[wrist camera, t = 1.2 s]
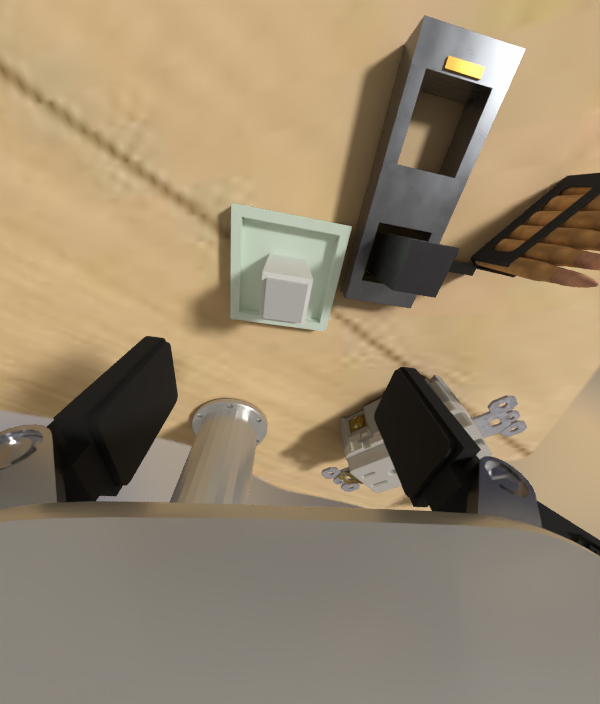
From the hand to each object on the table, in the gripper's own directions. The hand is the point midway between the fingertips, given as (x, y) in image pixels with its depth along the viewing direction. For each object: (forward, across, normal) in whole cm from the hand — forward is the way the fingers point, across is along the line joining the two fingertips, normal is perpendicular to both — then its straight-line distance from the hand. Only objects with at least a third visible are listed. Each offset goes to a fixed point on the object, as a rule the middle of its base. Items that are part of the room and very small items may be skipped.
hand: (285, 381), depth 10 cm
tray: (+20, 0, 0) cm, 20 cm away
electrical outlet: (+20, -22, +21) cm, 37 cm away
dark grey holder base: (+20, -14, -9) cm, 26 cm away
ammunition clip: (+20, -25, -9) cm, 34 cm away
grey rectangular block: (+20, 0, 0) cm, 20 cm away
